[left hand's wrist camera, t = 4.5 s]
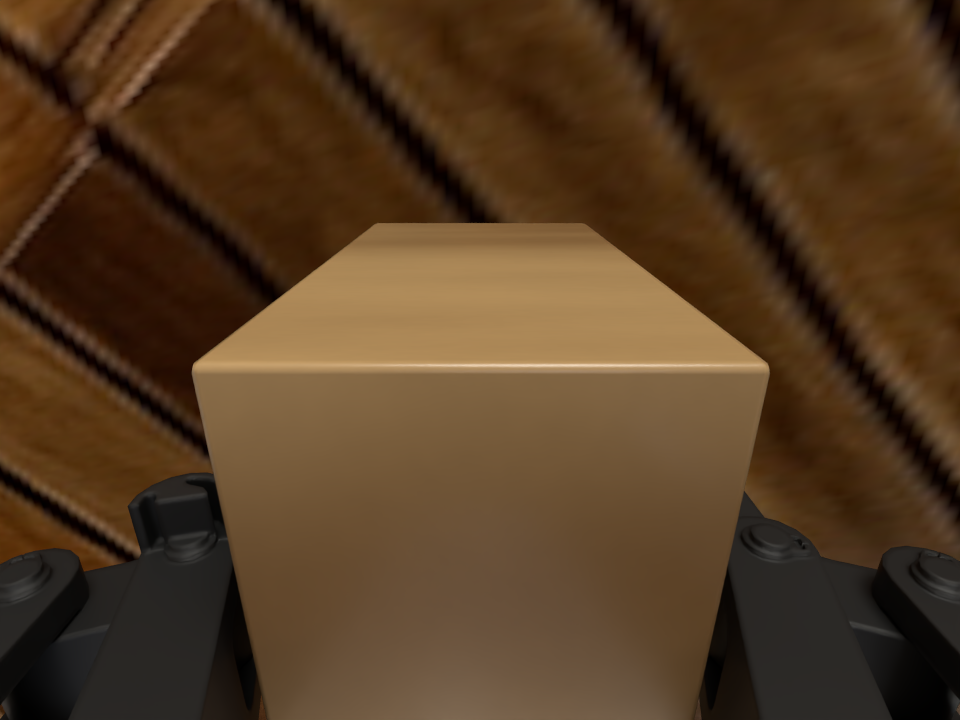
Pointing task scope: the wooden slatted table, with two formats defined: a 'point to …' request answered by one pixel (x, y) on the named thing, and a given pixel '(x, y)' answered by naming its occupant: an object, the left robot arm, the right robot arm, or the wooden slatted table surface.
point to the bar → (480, 479)
